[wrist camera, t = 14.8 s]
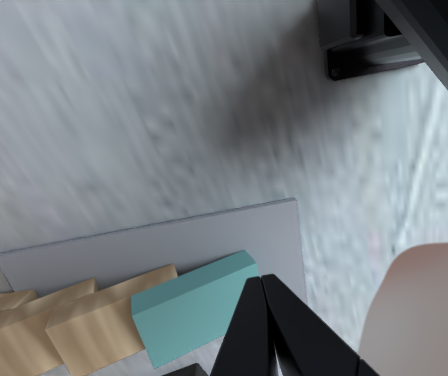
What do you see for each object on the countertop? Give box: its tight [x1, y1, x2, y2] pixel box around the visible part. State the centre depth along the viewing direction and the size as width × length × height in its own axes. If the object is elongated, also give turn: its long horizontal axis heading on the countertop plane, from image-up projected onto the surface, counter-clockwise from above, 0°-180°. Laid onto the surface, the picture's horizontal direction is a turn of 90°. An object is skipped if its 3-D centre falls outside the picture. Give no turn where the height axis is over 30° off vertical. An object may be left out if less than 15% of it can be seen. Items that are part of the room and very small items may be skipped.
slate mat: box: [0, 198, 308, 306], centre depth 22 cm, size 24×12×1 cm, turn 101°
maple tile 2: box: [45, 263, 178, 376], centre depth 20 cm, size 2×5×9 cm
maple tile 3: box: [0, 277, 101, 376], centre depth 20 cm, size 2×5×9 cm
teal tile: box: [131, 250, 259, 369], centre depth 20 cm, size 2×5×9 cm
